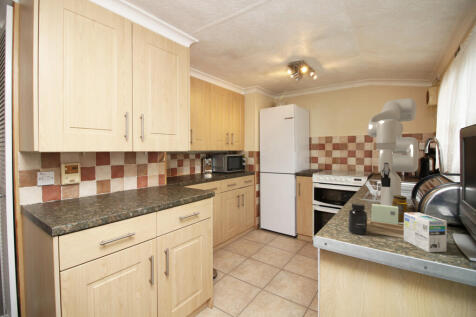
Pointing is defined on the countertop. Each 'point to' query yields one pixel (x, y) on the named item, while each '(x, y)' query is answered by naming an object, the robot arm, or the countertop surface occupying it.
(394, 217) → the door panel
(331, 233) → the countertop surface
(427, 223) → the light bulb box
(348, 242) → the countertop surface
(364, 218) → the supplement bottle
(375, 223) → the bottom track
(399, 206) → the condiment
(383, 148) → the robot arm
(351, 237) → the countertop surface
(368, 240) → the countertop surface
